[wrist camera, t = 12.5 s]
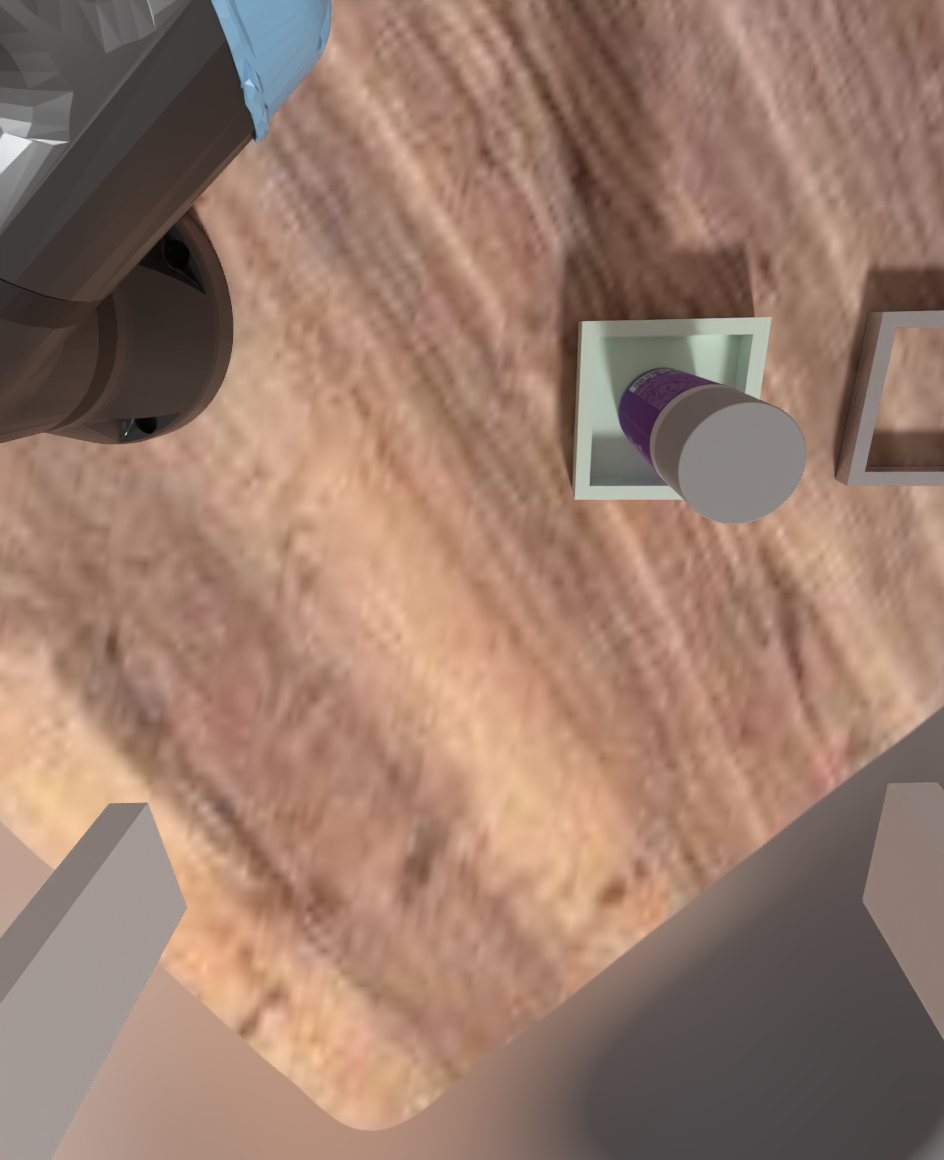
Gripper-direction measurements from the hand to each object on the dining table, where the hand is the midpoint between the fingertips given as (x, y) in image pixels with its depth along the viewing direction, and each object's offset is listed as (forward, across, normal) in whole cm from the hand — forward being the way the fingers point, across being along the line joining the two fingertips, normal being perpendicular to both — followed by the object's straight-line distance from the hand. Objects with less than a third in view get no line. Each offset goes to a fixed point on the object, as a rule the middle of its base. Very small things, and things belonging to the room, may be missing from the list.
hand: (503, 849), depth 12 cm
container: (+29, +9, +3) cm, 31 cm away
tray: (+30, +9, +3) cm, 31 cm away
